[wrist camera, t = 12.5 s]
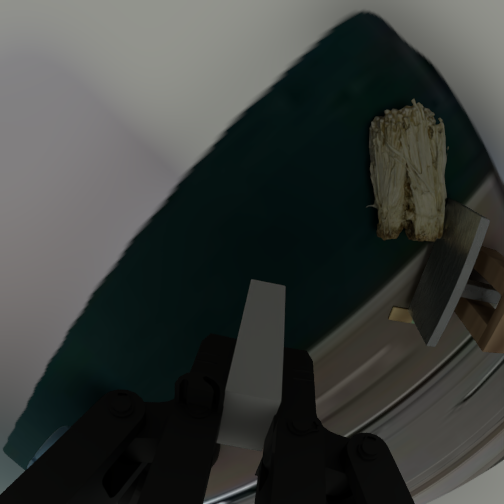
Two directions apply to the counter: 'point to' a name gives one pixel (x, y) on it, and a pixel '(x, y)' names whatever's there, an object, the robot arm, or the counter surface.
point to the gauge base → (478, 305)
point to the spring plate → (450, 272)
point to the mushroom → (408, 173)
